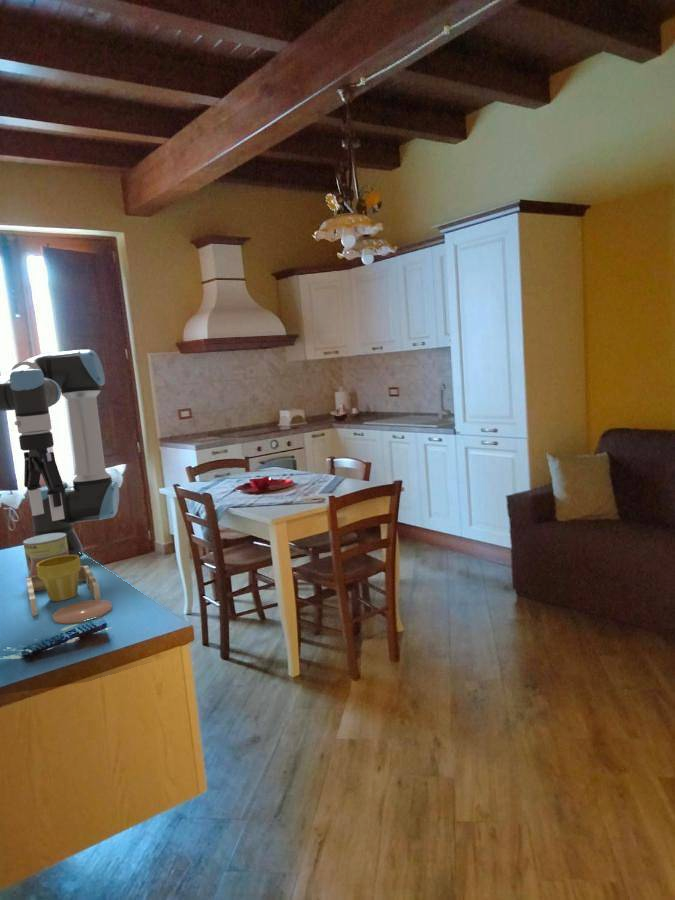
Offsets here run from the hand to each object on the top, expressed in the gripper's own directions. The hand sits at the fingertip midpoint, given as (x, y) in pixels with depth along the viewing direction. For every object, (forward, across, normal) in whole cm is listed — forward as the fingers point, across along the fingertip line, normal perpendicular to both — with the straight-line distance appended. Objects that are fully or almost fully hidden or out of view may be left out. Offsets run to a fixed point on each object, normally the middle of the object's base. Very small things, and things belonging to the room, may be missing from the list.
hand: (48, 517), depth 164 cm
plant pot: (+22, -2, +1) cm, 22 cm away
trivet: (+22, +15, 0) cm, 26 cm away
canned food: (+22, -22, +6) cm, 32 cm away
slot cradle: (+21, -3, +2) cm, 22 cm away
